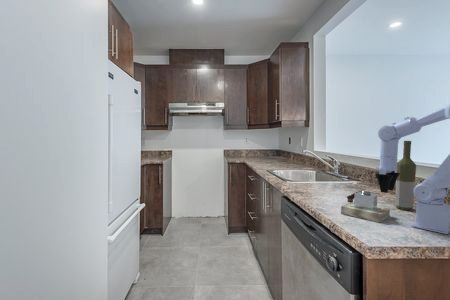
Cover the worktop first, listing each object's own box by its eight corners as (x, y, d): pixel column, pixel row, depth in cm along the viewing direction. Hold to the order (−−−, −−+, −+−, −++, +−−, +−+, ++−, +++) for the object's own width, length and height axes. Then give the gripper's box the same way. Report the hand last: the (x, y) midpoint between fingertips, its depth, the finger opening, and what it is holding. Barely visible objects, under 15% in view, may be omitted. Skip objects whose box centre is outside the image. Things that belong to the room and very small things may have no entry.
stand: (389, 216, 102) (389, 207, 101) (379, 222, 93) (380, 213, 93) (352, 208, 112) (352, 201, 112) (340, 213, 104) (341, 205, 103)
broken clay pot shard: (365, 212, 108) (354, 194, 111) (349, 216, 117) (340, 199, 119) (383, 202, 113) (372, 185, 116) (366, 207, 122) (357, 190, 124)
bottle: (417, 211, 109) (421, 141, 108) (398, 210, 110) (402, 140, 109) (408, 207, 116) (412, 140, 114) (391, 206, 117) (394, 140, 116)
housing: (376, 207, 102) (377, 192, 101) (373, 209, 98) (374, 194, 98) (358, 204, 107) (358, 189, 106) (354, 205, 103) (354, 191, 103)
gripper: (382, 155, 108) (381, 187, 109) (371, 156, 99) (369, 191, 99) (402, 156, 103) (400, 190, 104) (392, 158, 93) (390, 195, 94)
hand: (387, 191), depth 101 cm, fingers open, 7 cm apart
